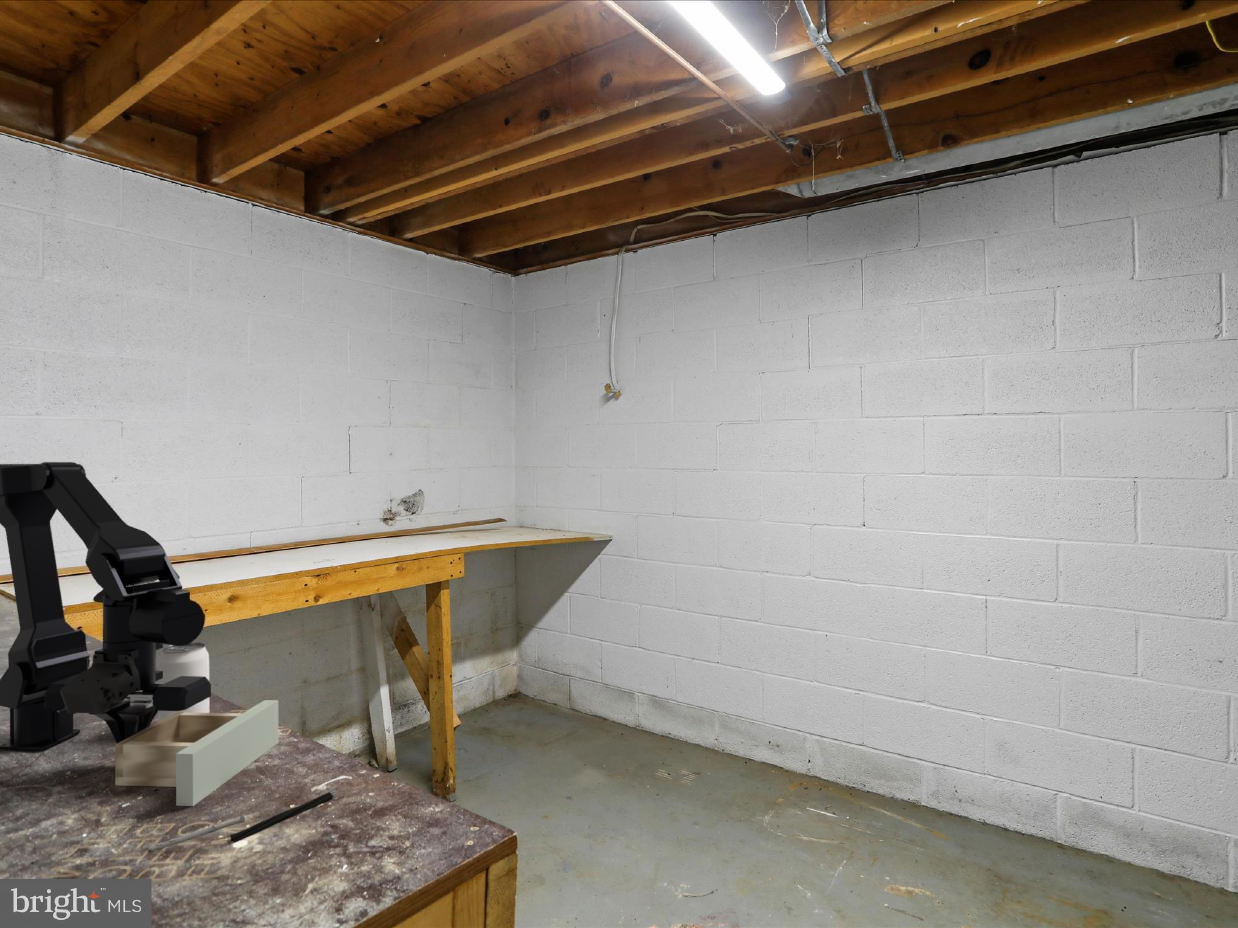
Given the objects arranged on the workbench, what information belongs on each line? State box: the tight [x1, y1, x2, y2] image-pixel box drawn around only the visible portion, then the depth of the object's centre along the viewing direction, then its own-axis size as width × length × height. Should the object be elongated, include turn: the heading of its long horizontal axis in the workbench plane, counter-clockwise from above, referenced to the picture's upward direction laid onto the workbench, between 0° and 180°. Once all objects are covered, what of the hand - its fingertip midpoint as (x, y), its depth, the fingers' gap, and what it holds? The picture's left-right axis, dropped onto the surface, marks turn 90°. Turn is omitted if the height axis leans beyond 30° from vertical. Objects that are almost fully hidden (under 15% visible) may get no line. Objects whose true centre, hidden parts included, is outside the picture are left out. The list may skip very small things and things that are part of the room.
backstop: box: [175, 699, 280, 807], centre depth 89 cm, size 2×18×6 cm, turn 177°
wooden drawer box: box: [114, 712, 244, 788], centre depth 90 cm, size 11×11×5 cm
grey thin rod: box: [150, 813, 246, 853], centre depth 74 cm, size 1×9×1 cm, turn 135°
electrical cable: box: [229, 789, 339, 843], centre depth 78 cm, size 12×1×1 cm, turn 146°
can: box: [157, 641, 210, 723], centre depth 104 cm, size 6×6×12 cm
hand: (129, 757), depth 91 cm, fingers closed
